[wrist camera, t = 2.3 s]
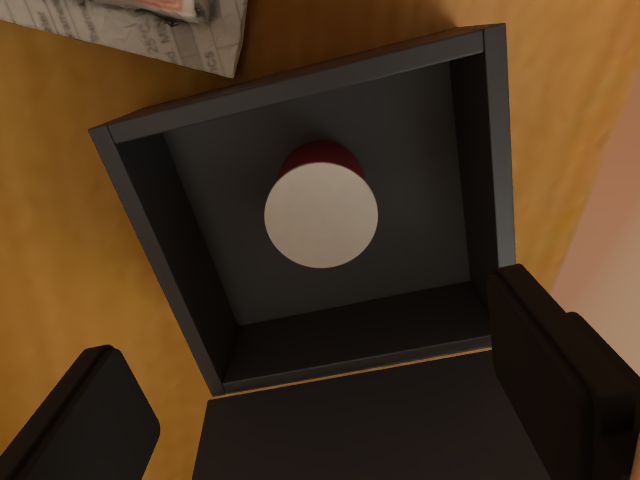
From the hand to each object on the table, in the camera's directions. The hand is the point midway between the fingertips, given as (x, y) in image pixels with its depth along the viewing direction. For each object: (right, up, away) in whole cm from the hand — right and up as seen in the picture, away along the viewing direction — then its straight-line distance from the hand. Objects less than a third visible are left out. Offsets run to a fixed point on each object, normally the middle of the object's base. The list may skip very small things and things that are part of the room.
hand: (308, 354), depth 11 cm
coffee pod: (0, +6, +12) cm, 14 cm away
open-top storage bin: (+1, +5, +13) cm, 14 cm away
